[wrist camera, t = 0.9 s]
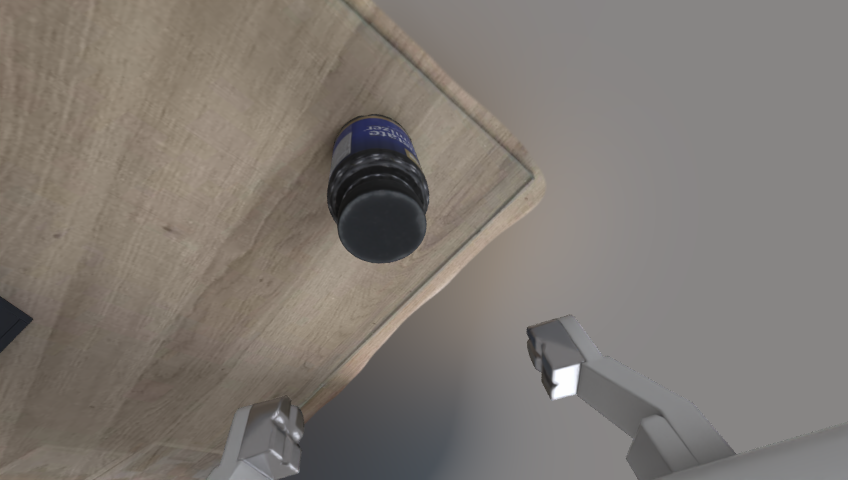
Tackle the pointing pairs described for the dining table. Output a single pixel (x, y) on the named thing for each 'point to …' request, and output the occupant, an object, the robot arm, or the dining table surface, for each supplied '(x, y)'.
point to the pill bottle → (377, 190)
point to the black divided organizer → (11, 323)
